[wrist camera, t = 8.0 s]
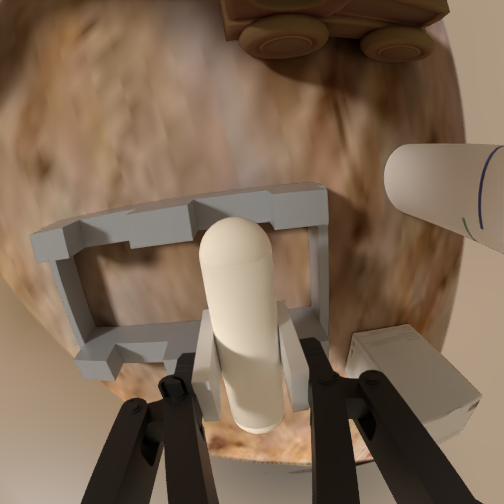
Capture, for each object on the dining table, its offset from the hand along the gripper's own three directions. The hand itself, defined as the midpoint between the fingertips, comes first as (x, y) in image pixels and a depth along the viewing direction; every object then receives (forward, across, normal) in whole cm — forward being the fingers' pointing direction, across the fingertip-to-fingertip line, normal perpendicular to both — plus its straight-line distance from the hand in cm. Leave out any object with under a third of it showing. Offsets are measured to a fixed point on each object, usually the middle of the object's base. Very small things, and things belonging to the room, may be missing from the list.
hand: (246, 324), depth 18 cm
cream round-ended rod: (0, 0, 0) cm, 0 cm away
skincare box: (+10, +15, -12) cm, 21 cm away
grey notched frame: (+9, -5, 0) cm, 11 cm away
